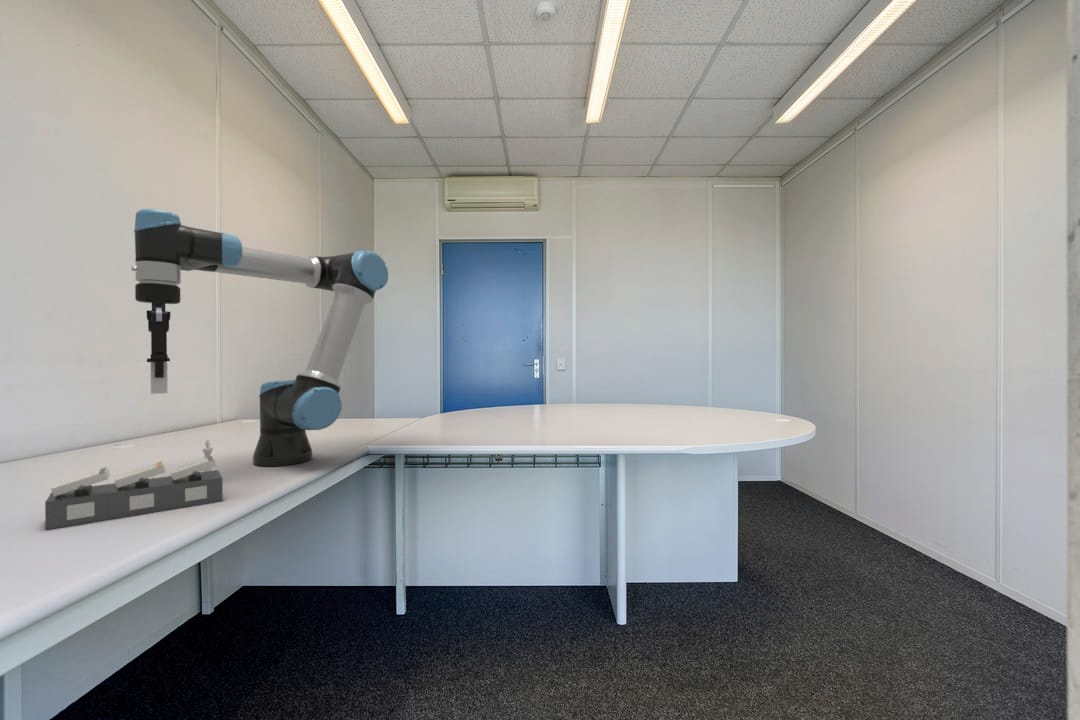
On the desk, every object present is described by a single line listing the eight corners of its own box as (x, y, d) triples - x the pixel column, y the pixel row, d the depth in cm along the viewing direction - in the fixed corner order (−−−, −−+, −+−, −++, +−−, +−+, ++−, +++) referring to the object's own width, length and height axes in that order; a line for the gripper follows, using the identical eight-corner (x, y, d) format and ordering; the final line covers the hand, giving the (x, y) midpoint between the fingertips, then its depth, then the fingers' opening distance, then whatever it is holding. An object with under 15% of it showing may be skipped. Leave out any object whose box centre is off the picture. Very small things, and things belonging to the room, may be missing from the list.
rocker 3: (214, 463, 104) (211, 455, 103) (217, 467, 100) (214, 459, 100) (173, 478, 99) (170, 469, 99) (174, 482, 96) (170, 473, 95)
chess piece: (201, 485, 111) (201, 443, 111) (191, 482, 113) (190, 441, 113) (224, 480, 115) (223, 439, 115) (213, 477, 118) (213, 437, 118)
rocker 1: (110, 476, 93) (106, 467, 93) (109, 481, 90) (105, 471, 89) (58, 493, 88) (54, 483, 88) (54, 498, 85) (50, 488, 85)
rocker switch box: (218, 492, 106) (218, 467, 106) (222, 501, 99) (222, 474, 99) (52, 517, 89) (52, 488, 89) (45, 530, 83) (45, 498, 83)
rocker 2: (165, 469, 98) (162, 460, 98) (166, 474, 95) (162, 464, 95) (119, 485, 94) (115, 475, 93) (118, 490, 90) (114, 480, 90)
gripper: (136, 287, 106) (136, 390, 106) (134, 277, 91) (134, 396, 92) (178, 290, 110) (178, 388, 111) (182, 281, 96) (183, 394, 96)
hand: (159, 392), depth 101 cm, fingers open, 6 cm apart
